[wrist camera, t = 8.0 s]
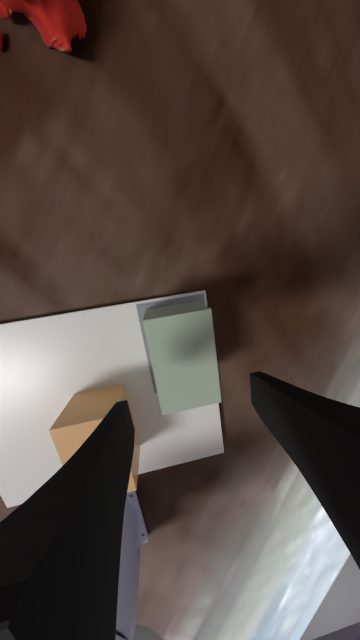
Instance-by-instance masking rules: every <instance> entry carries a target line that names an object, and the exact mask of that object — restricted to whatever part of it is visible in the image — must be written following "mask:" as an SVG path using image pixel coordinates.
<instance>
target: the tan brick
mask: <svg viewBox="0 0 360 640" xmlns="http://www.w3.org/2000/svg"><path fill="white" fill-rule="evenodd" d="M124 400H127V401H128V405H129V409H130V413H131V417H132V421H133V425H134V428H135V439H134V453H133V459H132V465H131V472H130V478H129V484H128V490H127V493H128V492H132V491H136V490H137V480H138V468H139V457H140V442H139V438H138V434H137V430H136V426H135V422H134V418H133V414H132V410H131V406H130V402H129V398H128V394H127V390H126V386H125V384H120V385H115V386H110V387H105V388H101V389H96V390H91V391H86V392H81V393H76V394H74V395H73V396H72V398H71V399H70V401H69V402H68V404H67V405H66V406H65V408H64V409H63V411H62V412H61V414H60V415H59V416H58V418H57V419H56V421H55V422H54V424H53V425H52V426H51V428H50V429H49V433H50V435H51V438H52V440H53V443H54V445H55V448H56V450H57V453H58V455H59V458H60V460H61V463H62V465H64V464H65V463H66V462H67V461H68V460H69V459H70V458H71V457H72V456H73V454H74V453H75V452H76V451H77V450H78V449H79V448H80V446H81V445H82V444H83V443H84V442H85V441H86V439H87V438H88V437H89V436H90V435H91V434H92V432H93V431H94V430H95V429H96V427H97V426H98V425H99V424H100V422H101V421H102V420H103V418H104V417H105V416H106V415H107V413H108V412H109V411H110V409H111V408H112V407H113V405H114V404H115V403H116V402H119V401H124Z"/></svg>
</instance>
